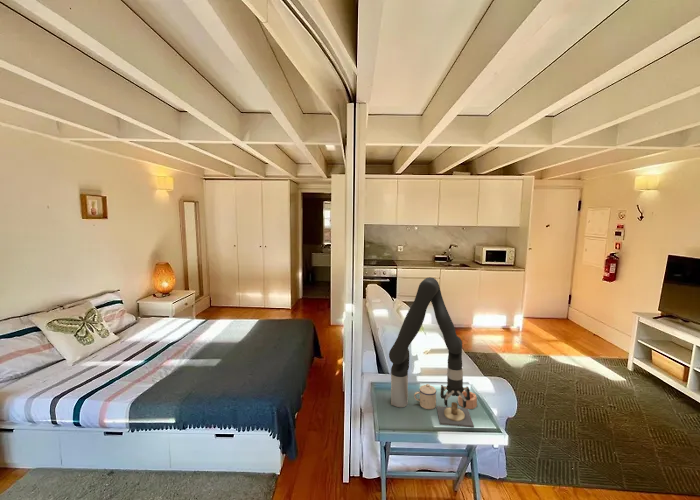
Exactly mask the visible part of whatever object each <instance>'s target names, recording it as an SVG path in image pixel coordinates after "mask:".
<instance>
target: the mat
mask: <svg viewBox="0 0 700 500" xmlns="http://www.w3.org/2000/svg"><path fill="white" fill-rule="evenodd" d="M449 407H450V406H447V407H446V406H443V405H442V406H440V405H436V411H437V412H436V413H437V415H438V423H439V425H442V426H451V427H452V426H453V427H454V426H455V427H464V428H474V427H475V425H474V422H473V420H472V417H471V415H470V411H469V409H468V408H463V407H458V409H460V410H462V411H463V412H464V414H465V418H464V420H462V421H458V422H457V421H451V420H449V419H447V418H446V417H445V415H444V410H445V409H446V408H449Z"/></svg>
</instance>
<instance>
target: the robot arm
mask: <svg viewBox="0 0 700 500" xmlns="http://www.w3.org/2000/svg"><path fill="white" fill-rule="evenodd" d="M430 303H431V305H432V307H433V312H434V316H435V317H434V318H435V319H436V322H437V325H438V327H439V330H440V331H441V334H442V336H443V340H444V343H445V346H446V349H447V350H448V351H447V352H448V356H447V371H446V372H447V373H446V375H447V378H446V380H447V382H446V384H447V385H446V386H445V385H443V384H441V385H440V398H441V399H443V403H444V406H445V407H448V399H449V398H450V397H451V396H452V397H458V396H461V398H462V399H463V407H462V408H465V407H466V401H467V400H470V392H471V390H470V388H469V386H466V387H464V379H463V377H464V374H463V373H464V371H463V358H462V355H463V341H462V339H461V337H459V336H458V335H457V333H456V327H455V325H454V322H453V321H452V318H451V315H450V314H449V311H448V309H447V307H446V304H445V301H444V299H443V296H442V292H441V288H440V284H439V281H438V280H437V279H436V278H434V277H426V278H424V279H423V280H422V281H421V282H420V283H419V285H418V288H417V291H416V295H415V297H414V300H413V302H412V304H411V306H410V307H409V309H408V311H407V313H406V316H405V317H404V320H403V322H402V324H401V327H400V329H399V332H398V335H397V338H396V340H395V342H393V344H392V346H391V348H390V350H389V353H388V358H389V361H390V362H391V363H392V364H391V369H390V378H391V379H390V384H391V385H390V406H393V407H396V408H404V407H407V406H408V403H409V383H408V382H409V379H408V378H409V368H410V351H409V347H410V345H411V343H412V342H413V340H414V339H415V338H416V336H417V335H418V333H419V331H420V330H421V328H422V325H423V323H424V322H425V317H426V313H427V309H428V307H429V305H430ZM463 391H465V392H466V393H467V396H466V397H465V396H464V395H463V393H462V392H463ZM445 392H446V393H445Z"/></svg>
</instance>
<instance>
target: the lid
mask: <svg viewBox="0 0 700 500" xmlns="http://www.w3.org/2000/svg"><path fill="white" fill-rule="evenodd" d="M450 405H451V406H448V407H449V408H446V409H445V410H444V415H445V417H446V418H447V419H449V420H451V421H457V422H458V421H462V420H464V418H465V414H464V412H463V411H462V410H460V409H458V408H459V407H458V406H459V403H458V402H455V401H453V402H451V404H450Z"/></svg>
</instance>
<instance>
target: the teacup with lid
mask: <svg viewBox="0 0 700 500" xmlns="http://www.w3.org/2000/svg"><path fill="white" fill-rule="evenodd" d="M418 394H419V398H417V397H416V395H418ZM413 397H414V399H415V400H416V401H417V402H419V405H420V407H422V409H425V410H433V409H435V408H437V402H436V401H437V389H436V388H435V386H432V385H430V384H429V383H426V384H423V385H421V386H419V391H415V392H414V394H413Z"/></svg>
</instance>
